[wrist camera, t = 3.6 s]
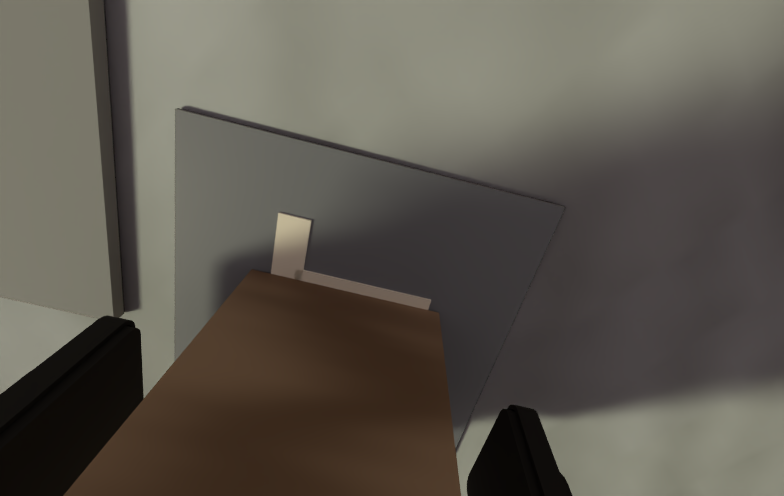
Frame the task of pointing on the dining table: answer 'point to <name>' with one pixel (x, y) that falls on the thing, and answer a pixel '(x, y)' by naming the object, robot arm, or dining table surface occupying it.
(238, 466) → the walnut block
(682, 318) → the dining table surface
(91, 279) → the pad
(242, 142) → the card
